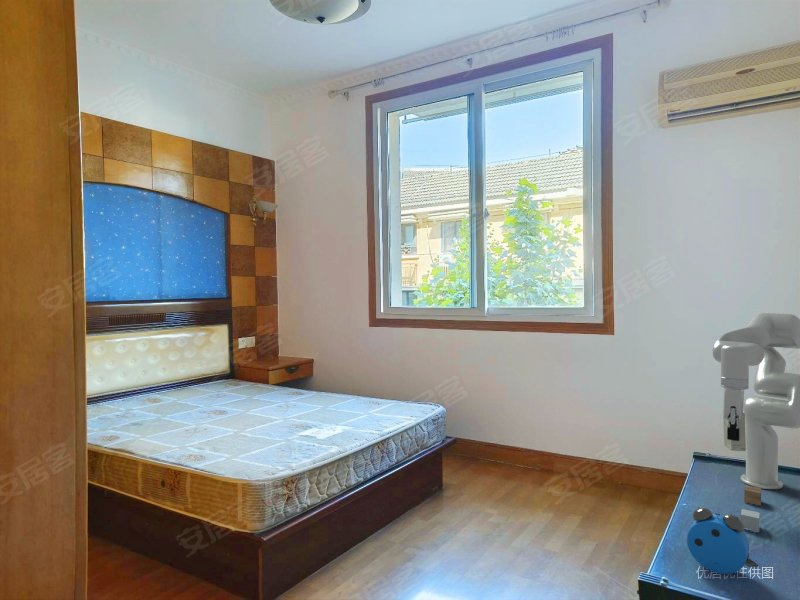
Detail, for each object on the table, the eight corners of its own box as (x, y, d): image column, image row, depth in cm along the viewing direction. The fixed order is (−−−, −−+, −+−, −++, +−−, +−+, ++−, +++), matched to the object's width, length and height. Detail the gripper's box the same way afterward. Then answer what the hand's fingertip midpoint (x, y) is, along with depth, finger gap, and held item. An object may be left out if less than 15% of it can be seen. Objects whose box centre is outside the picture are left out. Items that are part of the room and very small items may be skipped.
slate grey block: (741, 523, 156) (741, 508, 155) (759, 527, 153) (759, 512, 153) (740, 529, 152) (740, 514, 152) (759, 533, 149) (759, 518, 149)
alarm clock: (749, 572, 129) (749, 514, 129) (745, 583, 124) (746, 523, 124) (691, 555, 138) (691, 500, 137) (686, 564, 133) (686, 508, 132)
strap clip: (726, 550, 140) (726, 535, 140) (737, 550, 140) (737, 535, 140) (747, 567, 132) (747, 551, 132) (759, 567, 132) (759, 551, 132)
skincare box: (746, 451, 162) (746, 414, 161) (730, 451, 163) (730, 413, 162) (737, 445, 168) (737, 409, 167) (722, 444, 169) (722, 408, 168)
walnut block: (744, 498, 173) (745, 485, 173) (761, 501, 170) (761, 488, 170) (744, 503, 170) (744, 489, 169) (760, 506, 167) (760, 493, 167)
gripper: (723, 377, 174) (722, 428, 174) (718, 386, 160) (718, 441, 160) (749, 379, 169) (749, 432, 170) (747, 389, 155) (746, 446, 156)
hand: (734, 436), depth 165 cm, fingers closed on skincare box, 7 cm apart
